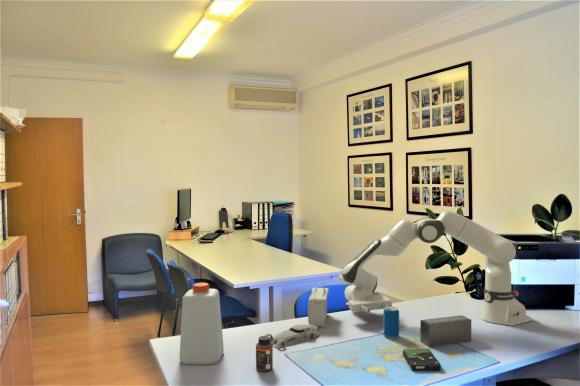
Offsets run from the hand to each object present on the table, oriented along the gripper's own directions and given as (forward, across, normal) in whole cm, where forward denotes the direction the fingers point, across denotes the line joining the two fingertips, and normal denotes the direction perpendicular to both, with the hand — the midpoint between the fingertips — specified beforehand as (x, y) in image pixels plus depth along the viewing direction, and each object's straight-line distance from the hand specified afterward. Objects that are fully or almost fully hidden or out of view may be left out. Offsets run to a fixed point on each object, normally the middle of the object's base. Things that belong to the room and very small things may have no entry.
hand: (378, 309), depth 205 cm
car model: (+2, -40, +9) cm, 41 cm away
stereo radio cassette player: (-17, -22, +8) cm, 29 cm away
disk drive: (+38, -3, +9) cm, 40 cm away
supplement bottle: (+26, -59, +8) cm, 65 cm away
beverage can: (+12, 0, +8) cm, 14 cm away
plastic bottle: (+9, -79, +8) cm, 80 cm away
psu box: (+24, +18, +8) cm, 31 cm away
